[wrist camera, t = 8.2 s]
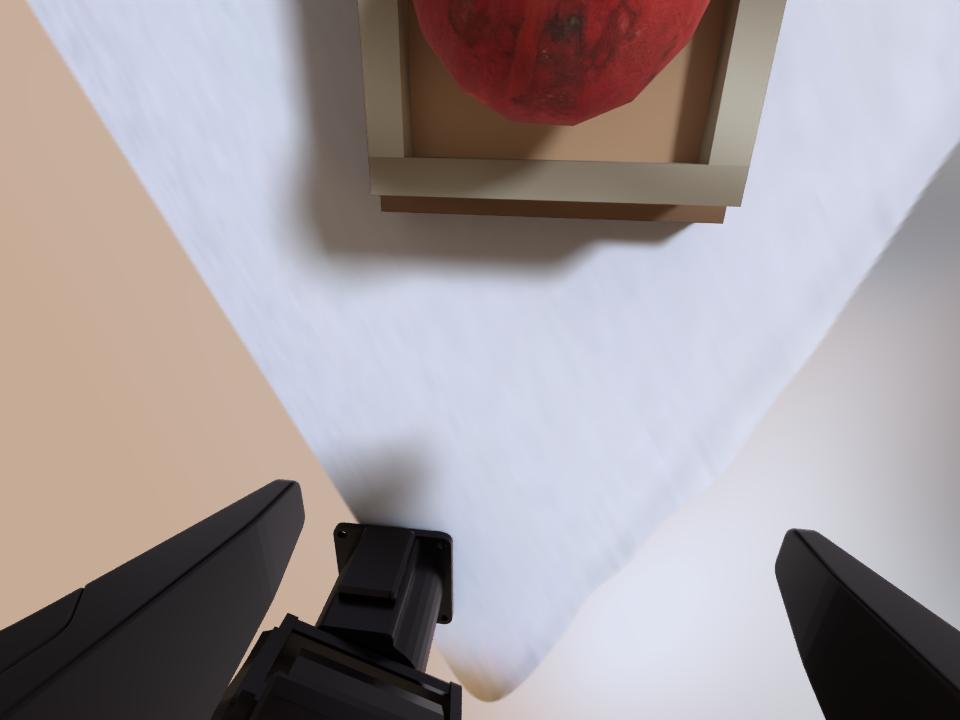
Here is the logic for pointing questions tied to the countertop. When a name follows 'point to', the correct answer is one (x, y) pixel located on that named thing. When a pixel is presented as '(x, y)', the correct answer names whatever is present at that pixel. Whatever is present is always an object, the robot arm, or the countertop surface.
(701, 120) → the wooden tray on base
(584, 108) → the onion
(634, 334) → the countertop surface
